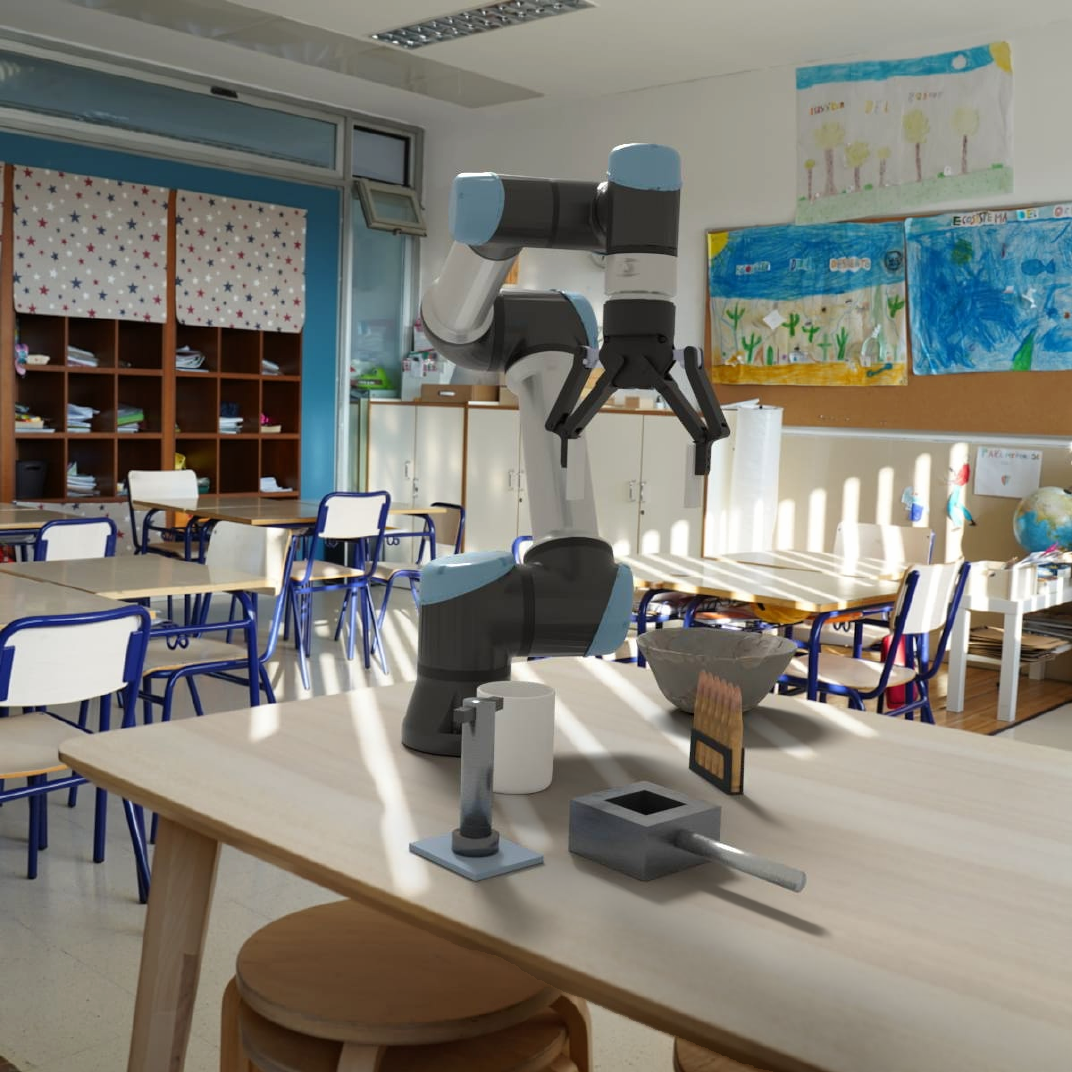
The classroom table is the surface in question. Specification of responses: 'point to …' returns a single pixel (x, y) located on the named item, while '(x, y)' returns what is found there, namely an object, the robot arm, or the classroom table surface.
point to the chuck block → (661, 835)
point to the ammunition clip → (718, 735)
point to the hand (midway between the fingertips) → (632, 503)
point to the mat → (476, 867)
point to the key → (477, 778)
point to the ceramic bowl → (715, 661)
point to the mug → (522, 736)
